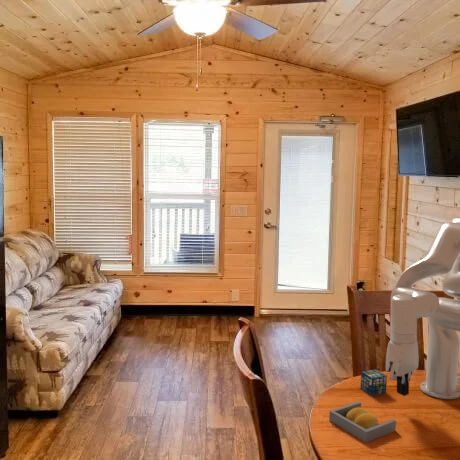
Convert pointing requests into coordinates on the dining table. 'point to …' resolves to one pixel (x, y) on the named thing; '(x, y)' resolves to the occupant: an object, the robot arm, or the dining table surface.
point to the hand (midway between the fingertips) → (402, 393)
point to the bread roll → (362, 418)
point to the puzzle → (373, 382)
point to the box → (365, 435)
